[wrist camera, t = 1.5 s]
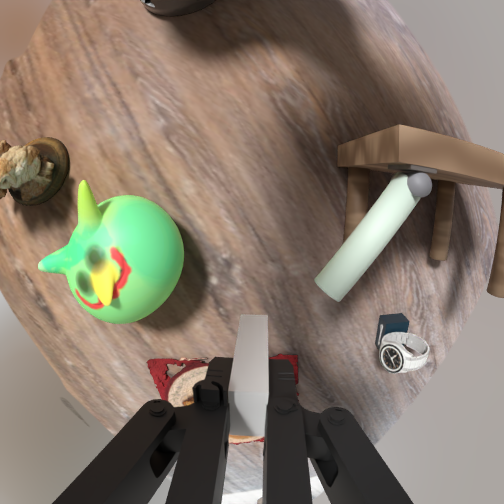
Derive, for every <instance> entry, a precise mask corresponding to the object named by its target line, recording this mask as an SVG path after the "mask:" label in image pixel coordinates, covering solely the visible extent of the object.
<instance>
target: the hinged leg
mask: <svg viewBox="0 0 504 504" xmlns="http://www.w3.org/2000/svg"><path fill="white" fill-rule="evenodd" d="M431 189H432V182H431V179H430V177H429V176H428V175H427V174H426V173H421V172H396V173H394V174H393V175H392V177H391V182H390V183H389V185H388V186H387V187H386V189H385V190H384V191H383V193H382V194H381V196H380V197H379V198H378V200H377V201H376V202H375V204H374V205H373V206H372V208H371V209H370V210H369V212H368V213H367V214H366V215H365V217H364V218H363V219H362V221H361V222H360V223H359V225H358V226H357V227H356V228H355V230H354V231H353V232H352V234H351V235H350V236H349V237H348V239H347V240H346V241H345V242H344V244H343V245H342V246H341V247H340V249H339V250H338V251H337V252H336V254H335V255H334V256H333V257H332V258H331V260H330V261H329V262H328V263H327V265H326V266H325V267H324V268H323V269H322V271H321V272H320V273H319V274H318V275H317V277H316V278H315V279H314V281H315V283H316V284H317V285H318V286H319V287H320V288H321V289H322V290H323V291H324V292H325V293H326V294H327V295H329V296H330V297H331V298H333V299H334V300H336V301H338V302H340V301H341V300H342V298H343V297H344V296H345V295H346V294H347V293H348V291H349V290H350V289H351V288H352V287H353V286H354V284H355V283H356V282H357V281H358V280H359V278H360V277H361V276H362V275H363V274H364V272H365V271H366V270H367V269H368V268H369V266H370V265H371V264H372V263H373V261H374V260H375V259H376V258H377V256H378V255H379V254H380V253H381V251H382V250H383V249H384V247H385V246H386V245H387V244H388V242H389V241H390V240H391V238H392V237H393V236H394V234H395V233H396V232H397V230H398V229H399V228H400V226H401V225H402V224H403V222H404V221H405V220H406V218H407V217H408V215H409V214H410V213H411V211H412V210H413V208H414V207H415V206H416V204H417V203H418V201H419V200H420V198H421V197H426V196H428V195H429V193H430V192H431Z"/></svg>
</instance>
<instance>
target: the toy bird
mask: <svg viewBox="0 0 504 504" xmlns="http://www.w3.org/2000/svg"><path fill="white" fill-rule="evenodd" d="M78 223H79V224H78V225H77V227H76V228H75V230H74V232H73V234H72V236H71V239H70V241H69V244H68V245H66V246H65V247H63V248H61V249H59V250H58V251H56V252H54V253H52V254H50V255H48V256H47V257H45V258H44V259H42V260H41V261H40V262H39V264H38V269H39V270H40V271H43V272H49V273H59V274H65V275H66V276H67V280H68V283H69V286H70V289H71V291H72V293H73V295H74V297H75V298H76V300H77V301H78V303H79V304H80V305H81V306H82V307H83V308H84V309H85V310H86V311H87V312H89V313H90V314H91V315H93V316H94V317H96V318H98V319H100V320H103V321H105V322H109V323H114V324H125V323H131V322H135V321H138V320H140V319H142V318H144V317H146V316H148V315H149V314H151V313H152V312H154V311H155V310H156V309H157V308H159V307H160V306H161V305H162V304H163V303H164V302H165V301H166V299H167V298H168V297H169V296H170V294H171V293H172V291H173V290H174V288H175V286H176V284H177V282H178V280H179V278H180V275H181V272H182V268H183V262H184V247H183V242H182V238H181V235H180V232H179V230H178V228H177V226H176V224H175V223H174V221H173V220H172V218H171V217H170V216H169V215H168V213H167V212H166V211H165V210H163V209H162V208H161V207H160V206H158V205H157V204H155V203H154V202H152V201H150V200H148V199H145V198H142V197H139V196H133V195H123V196H117V197H113V198H110V199H108V200H106V201H104V202H102V203H100V204H99V205H97V203H96V201H95V198H94V196H93V193H92V191H91V189H90V186H89V185H88V183H87V182H86V181H85V180H83V181H82V182H81V183H80V185H79V190H78Z"/></svg>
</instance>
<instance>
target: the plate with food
mask: <svg viewBox="0 0 504 504" xmlns="http://www.w3.org/2000/svg"><path fill="white" fill-rule="evenodd" d="M202 359H207V358H192V359H191V358H190V359H187V358H185V357H183V358H180V360H178V361H177V360H174V359H150V360H148V361H147V362H146V363H148V368H149V369H150V374H151V375H152V376H153V379H154V383H155V384H157V387H156V388H158V391H159V393H160V396H161V398H162V400H166V401H168V402H170V403H171V404H172V405H173V406H174V407H181V406H187V405H190V404H192V403H194V399H193V390H192V387H193V386H194V384H195V383H197V382H198V381H201V380H204V379H205V376H206V372H207V369H208V365H209V364H208V363H205V364H204V363H200V362H202V361H200V360H202ZM268 359H288V360H289V361H290V362H291V364H292V365H293V369H294V376H295V384H296V385H297V384H298V367H297V364H296V362H298V359H297V355H282V354H278V355H277V356H275V357H270V358H268ZM175 363H176V364H177V366H181V364H182V363H184V364H185V365H186V367H184V368H183V369H182V370H181V371H180V372H178V373H177V374H176V375H174V376H173V377H172V378H171V379H170V377H169V376H168V375H167V374H165V372H166V370H167V371H168V369H167V366H166V365H167V364H173V365H174V364H175ZM163 384H164V385H163ZM298 395H299V394H298V393H297V396H298ZM298 401H299V400H298ZM260 439H261V440H260ZM263 440H264V437H262V436H240V435H230V434H229V443H233V444H236V445H238V444H240V443H242V442H243V443H250V442H251V441H254V442H255V441H260V442H264V441H263Z"/></svg>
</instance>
